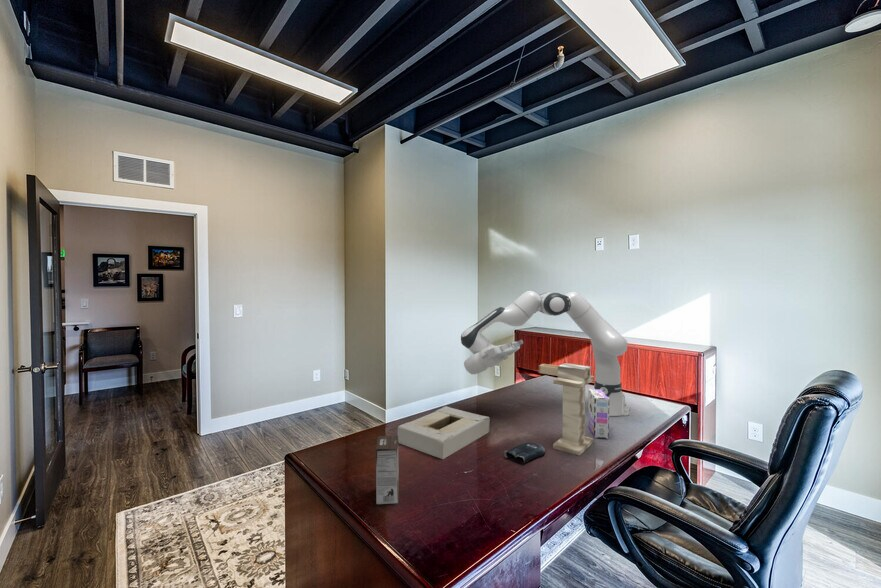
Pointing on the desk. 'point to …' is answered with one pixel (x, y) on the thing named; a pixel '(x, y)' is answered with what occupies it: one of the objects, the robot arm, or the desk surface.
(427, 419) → the box
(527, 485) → the desk surface
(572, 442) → the stand
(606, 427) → the candy box
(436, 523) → the desk surface
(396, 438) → the coffee box
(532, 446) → the electronic device
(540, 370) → the tray
